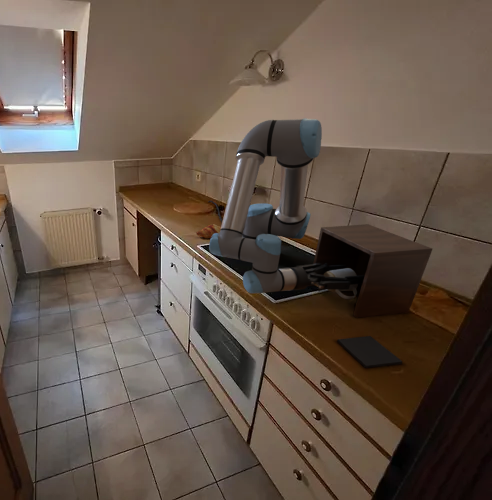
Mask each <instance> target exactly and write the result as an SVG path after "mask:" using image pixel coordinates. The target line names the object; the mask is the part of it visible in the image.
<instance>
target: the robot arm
mask: <svg viewBox="0 0 492 500" xmlns="http://www.w3.org/2000/svg"><path fill="white" fill-rule="evenodd" d="M322 138H323V128H322V123H321V122H320V120H319V119H316V118H306V117H303V118H301V119H300V118H299V119H298V118H297V119H296V118H295V119H267V120H264V121H262V122H260V123H258V124H256V125H255V126H254V127H252V128H251V129H250V130H248V132H247V133H246V134H245V136H244V137H243V139H242V140H241V142H240V143H239V145H238V148H237V151H236V154H235V161H236V165H235V166H236V167H235V171H234V175H233V178H232V182H231V186H230V190H229V193H228V198H227V201H226V206H225V209H224V213H223V217H222V216H221V212H220V208H219V206H218V204H217V203H216V202H214V201H213V200H209V201H207V203H212V204H214V205H215V207H216V210H217V213H218V217H219V220H220V222H221V225H220V226H221V230H220V233H214V234H213V235H212V237H211V238H209V244H208V246H209V247H208V250H209V252H210V253H211V255H214V256H219V257H221V258H227V259H233V260H239V261H242V262H248V263H252V267H251V269H250V270H247V271H245V272H244V274H243V275H242V276H243V277H242V285H243V287H244V289H245V291H246V292H247V293H249V294H267V293H274V292H285V291H287V292H288V291H298V290H300V291H301V290H305V289H306V288H307V287H309V286H310V287H317V290H318V291H319V292H320V291H321V292H322V291H326V290H327V291H329V290H339V289H349V287H350V285H353V284H358V285H360V284H361V283H363V280H364V277H365V275H358V276H346V277H345V278H338V277H327V276H324V275H320V274H322V273H325V272H326V271H327V272H328V271H331V270H338V269H344V268H346V266H347V265H345V264H343V265H331V266H327V263H324V264H323V265H322V264H321V263H315V264H313V263H312V264H311V263H309V264H304V265H296V266H294V267H292V266H291V267H282V268H279V263H280V257H281V253H282V250H281V249H282V240H281V238H287V239H292V240H293V239H295V240H301V239H302V238H304V237H305V234H306V231H307V228H308V226H309V222H310V219H311V216H312V215H311V214H312V213H310V212H309V211H307V208H306V207H305V206H304V203H305V196H306V195H305V194H306V185H307V177H308V168H309V165H310V164H311V163H312V162H313V161H314V159H315V158H318V157H319V155H320V153H321V146H322ZM266 157H270V158H271V157H275V158H276V163H277V164H278V165H279V167H280V180H279V181H280V182H279V188H280V189H279V205H278V206H277V207H276V208H274V206H273V204H271V203H266V202H265V203H264V202H263V203H262V202H261V203H253V204H251V202H252V199H253V196H254V195H253V194H254V190H255V186H256V182H257V179H258V175H259V172H260V170H259V169H260V166H261V165H263V164H264V163H265V159H266ZM277 236H278V237H277ZM280 237H281V238H280ZM316 267H317V268H316ZM320 278H321V280H320Z"/></svg>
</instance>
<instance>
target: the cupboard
mask: <svg viewBox="0 0 492 500" xmlns="http://www.w3.org/2000/svg"><path fill="white" fill-rule="evenodd" d="M432 252H433V248H432V247H430V246H427V245H424V244H422V243H419V242H416V241H414V240H412V239H408V238H407V237H403V236H400V235H398V234H395V233H392V232H391V231H387V230H384V229H382V228H379V227H376V226H375V225H371V224H369V223H365V224H352V225H350V224H349V225H337V226H335V225H334V226H322V227H321V226H320V231H319V234H318V239H317V245H316V250H315V253H314V258H313V263H312V264H315V263H321V264H322V265H323V264H324V263H327V266H331V265H343V264H345V265H347V266H346V268H350V269H352V270H353V271H354V272H355V273H356V275H357V276H358V275H365V277H364V280H363V283H361V284H359V285H360V286H361V287H360V290H359V294H358V297H357V300H356V303H355V307H354V311H353V317H354V318H366V317H375V316H385V315H386V316H387V315H397V314H407V313H409V312H410V309H411V307H412V305H413V301H414V299H415V297H416V294H417V291H418V289H419V286H420V283H421V281H422V278H423V276H424V274H425V273H424V272H425V270H426V267H427V264H428V263H429V260H430V258H431V254H432ZM316 268H317V267H316ZM326 272H327V271H326ZM326 272H325V273H326ZM320 275H324V273H322V274H320ZM320 280H321V278H320Z"/></svg>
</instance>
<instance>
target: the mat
mask: <svg viewBox="0 0 492 500" xmlns="http://www.w3.org/2000/svg"><path fill="white" fill-rule="evenodd" d="M336 342H337V344H339V345H340V346H341V347H342V348H343V349H344V350H345V351H346V352H347V353H348V354H350V355H351V356H352V357H353V359H355V360H356V361H357V362H358V363H359V364H360V365H361V366H362V367H363V368H364V369H370V368H377V367H379V368H380V367H386V366H395V365H402V364H403V361H402V360H401V359H400V358H399V357H397V356H396V355H395V354H394V353H393V352H391V351H390V350H389V349H388V348H386V347H385V346H384V345H382V344H381V343H380V342H379V341H377V340H376V339H375V338H374V337H372V336H371V335H367V336H358V337H349V338H338V339H337V340H336Z"/></svg>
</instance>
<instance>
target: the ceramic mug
mask: <svg viewBox="0 0 492 500" xmlns="http://www.w3.org/2000/svg"><path fill="white" fill-rule="evenodd" d="M324 276H327V277H338V278H345V277H346V276H357V275H356V273H355V272H354V271H353V270H352V269H350V268H344V269H338V270H331V271H328V272H326V273H324ZM358 286H359V284H353V285H350V287H349V289H339V290H328V292H334V293H336V294H337V295H338V296H339V297H341V298H342V299H343V300H353V299H355V298H356V297H357V295H358V291H357V289H358ZM342 292H353V295H352V296H351V295H346V294H344V293H342Z"/></svg>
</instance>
